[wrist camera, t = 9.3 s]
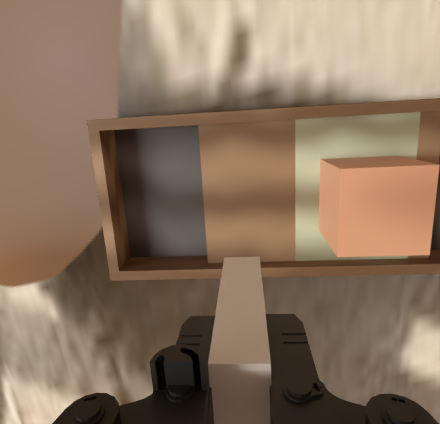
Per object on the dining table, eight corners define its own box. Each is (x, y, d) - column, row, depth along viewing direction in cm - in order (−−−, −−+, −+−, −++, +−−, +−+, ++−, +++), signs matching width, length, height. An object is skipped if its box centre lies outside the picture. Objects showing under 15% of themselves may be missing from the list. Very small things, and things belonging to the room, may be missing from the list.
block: (320, 159, 32) (340, 168, 25) (397, 155, 31) (439, 164, 25) (318, 230, 34) (337, 257, 27) (391, 228, 33) (429, 255, 26)
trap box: (104, 120, 35) (86, 120, 31) (543, 93, 31) (585, 89, 28) (124, 264, 39) (110, 280, 35) (515, 255, 35) (548, 271, 32)
